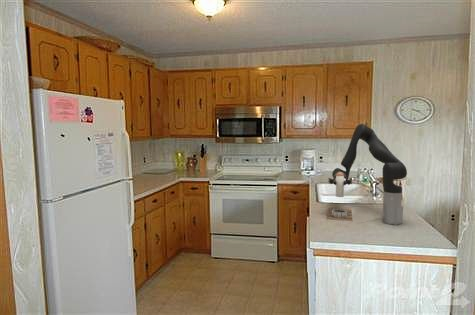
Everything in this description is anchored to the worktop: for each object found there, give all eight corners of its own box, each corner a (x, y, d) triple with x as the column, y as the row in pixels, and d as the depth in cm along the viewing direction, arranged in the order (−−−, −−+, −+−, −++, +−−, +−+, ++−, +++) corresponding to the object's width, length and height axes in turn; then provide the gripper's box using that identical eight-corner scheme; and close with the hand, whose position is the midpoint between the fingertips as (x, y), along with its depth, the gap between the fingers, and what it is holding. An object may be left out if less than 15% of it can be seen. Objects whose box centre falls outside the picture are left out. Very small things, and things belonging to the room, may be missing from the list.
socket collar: (332, 213, 192) (332, 208, 192) (346, 214, 190) (347, 209, 189) (331, 217, 184) (331, 212, 184) (347, 218, 182) (347, 213, 181)
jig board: (328, 210, 206) (328, 208, 206) (351, 211, 201) (351, 209, 201) (326, 221, 181) (326, 219, 181) (352, 223, 177) (352, 221, 177)
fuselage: (345, 196, 185) (345, 172, 184) (340, 197, 183) (340, 172, 182) (339, 195, 189) (339, 171, 188) (334, 196, 187) (334, 171, 185)
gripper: (328, 172, 201) (327, 176, 184) (352, 173, 196) (353, 177, 180) (328, 184, 201) (326, 189, 185) (352, 185, 197) (353, 190, 181)
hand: (339, 183), depth 183 cm, fingers closed on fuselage, 4 cm apart
